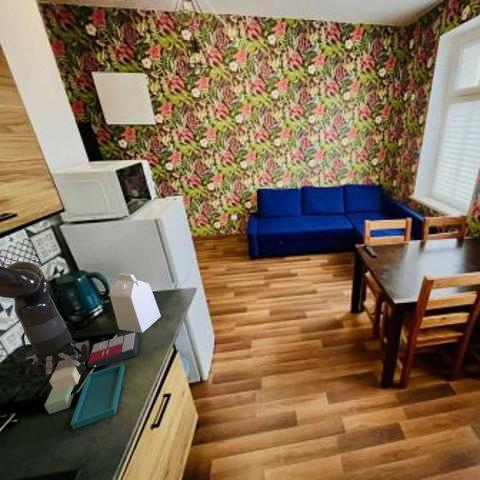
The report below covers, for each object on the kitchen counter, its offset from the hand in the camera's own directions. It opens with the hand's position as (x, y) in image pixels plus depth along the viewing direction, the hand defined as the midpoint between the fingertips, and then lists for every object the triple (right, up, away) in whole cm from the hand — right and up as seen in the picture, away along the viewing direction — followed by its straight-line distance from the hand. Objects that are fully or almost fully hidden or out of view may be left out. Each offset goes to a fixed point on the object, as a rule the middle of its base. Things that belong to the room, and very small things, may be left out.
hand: (70, 376), depth 79 cm
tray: (0, -12, +11) cm, 17 cm away
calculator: (-8, -5, +28) cm, 30 cm away
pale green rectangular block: (-11, -13, +9) cm, 20 cm away
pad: (0, 0, 0) cm, 0 cm away
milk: (-10, +2, +45) cm, 46 cm away
